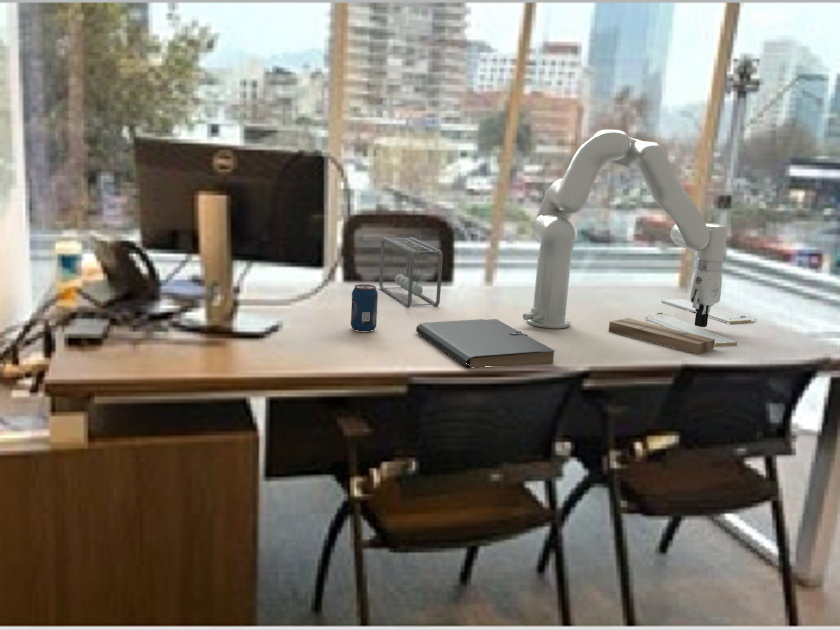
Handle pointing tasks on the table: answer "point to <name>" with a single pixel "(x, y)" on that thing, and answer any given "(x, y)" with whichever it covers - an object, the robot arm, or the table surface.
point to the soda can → (364, 307)
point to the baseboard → (690, 329)
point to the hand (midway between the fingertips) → (700, 326)
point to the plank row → (662, 335)
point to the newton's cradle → (407, 280)
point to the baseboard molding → (713, 312)
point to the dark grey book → (485, 343)
